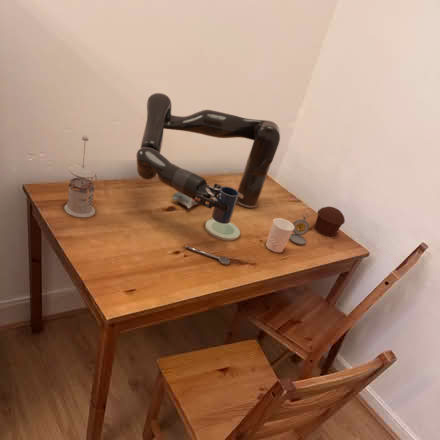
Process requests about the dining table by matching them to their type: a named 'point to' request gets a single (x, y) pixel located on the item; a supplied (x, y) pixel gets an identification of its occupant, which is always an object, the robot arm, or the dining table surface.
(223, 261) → the spoon
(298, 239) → the pocket watch
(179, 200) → the packaged food
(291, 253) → the dining table surface
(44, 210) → the dining table surface
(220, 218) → the tumbler
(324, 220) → the muffin
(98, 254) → the dining table surface
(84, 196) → the french press
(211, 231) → the side plate
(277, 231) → the white cup
